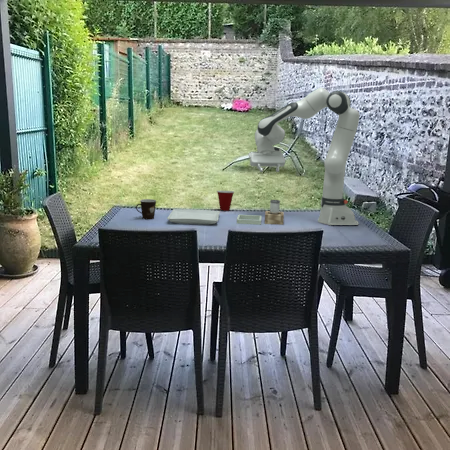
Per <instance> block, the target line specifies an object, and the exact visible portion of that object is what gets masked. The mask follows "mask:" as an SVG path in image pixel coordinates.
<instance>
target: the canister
mask: <svg viewBox="0 0 450 450" xmlns="http://www.w3.org/2000/svg"><path fill="white" fill-rule="evenodd" d="M269 202H270V203H269V205H270V206H269V211H270V214H274V215H279V212H280V204H281V200H278V199H271V200H270V201H269Z"/></svg>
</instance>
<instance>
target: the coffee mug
mask: <svg viewBox="0 0 450 450" xmlns="http://www.w3.org/2000/svg"><path fill="white" fill-rule="evenodd" d="M156 204H157V200H156V199H153V198H145V199H144V198H142V199H140V203H138V204H136V205H135V210H136V211H137V212H138V213H140V214H141V217H142V219H143V220H150V221H151V220H154V219H155V213H156ZM138 206H140V208H141V211H140V210H138Z"/></svg>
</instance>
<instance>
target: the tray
mask: <svg viewBox="0 0 450 450" xmlns="http://www.w3.org/2000/svg"><path fill="white" fill-rule="evenodd" d="M262 219H263V218H262V215H255V214H254V215H252V214H238V215H237V217H236V224H237V225H239V224H240V225H262Z"/></svg>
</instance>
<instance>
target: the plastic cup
mask: <svg viewBox="0 0 450 450" xmlns="http://www.w3.org/2000/svg"><path fill="white" fill-rule="evenodd" d="M216 193H217V196H218V205H219V209H220V210H219V211H222V210H223V212H229V211H230V210H231V206H232V202H233V196H234V193H235V191H233V190H216Z"/></svg>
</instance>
